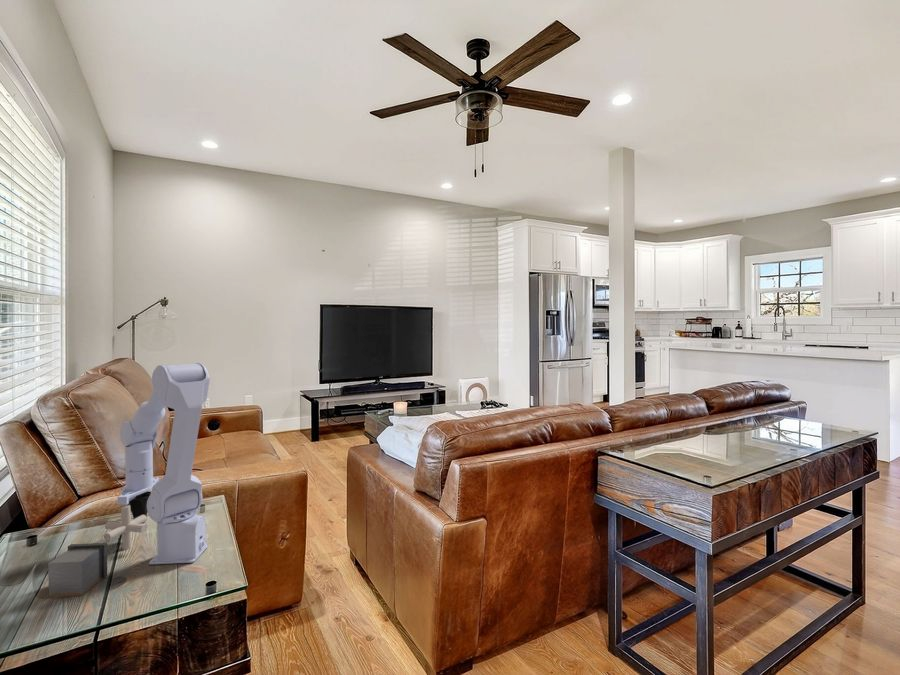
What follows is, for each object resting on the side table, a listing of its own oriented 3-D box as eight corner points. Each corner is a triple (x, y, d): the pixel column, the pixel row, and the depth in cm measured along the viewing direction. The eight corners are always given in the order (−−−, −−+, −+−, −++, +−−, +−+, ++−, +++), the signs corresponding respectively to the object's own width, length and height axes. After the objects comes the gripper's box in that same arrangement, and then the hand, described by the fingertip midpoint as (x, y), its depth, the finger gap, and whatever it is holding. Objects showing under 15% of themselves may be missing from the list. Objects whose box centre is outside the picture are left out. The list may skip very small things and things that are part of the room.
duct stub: (71, 578, 98) (71, 544, 98) (107, 576, 99) (106, 542, 99) (46, 597, 91) (45, 560, 91) (84, 595, 92) (84, 558, 92)
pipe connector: (127, 560, 106) (125, 517, 106) (89, 556, 108) (87, 513, 107) (161, 539, 116) (160, 499, 115) (127, 536, 118) (125, 496, 117)
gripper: (138, 460, 124) (139, 512, 124) (103, 478, 110) (104, 536, 110) (167, 460, 125) (167, 511, 125) (135, 477, 110) (136, 535, 111)
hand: (139, 523), depth 118 cm, fingers closed, pressing on pipe connector
